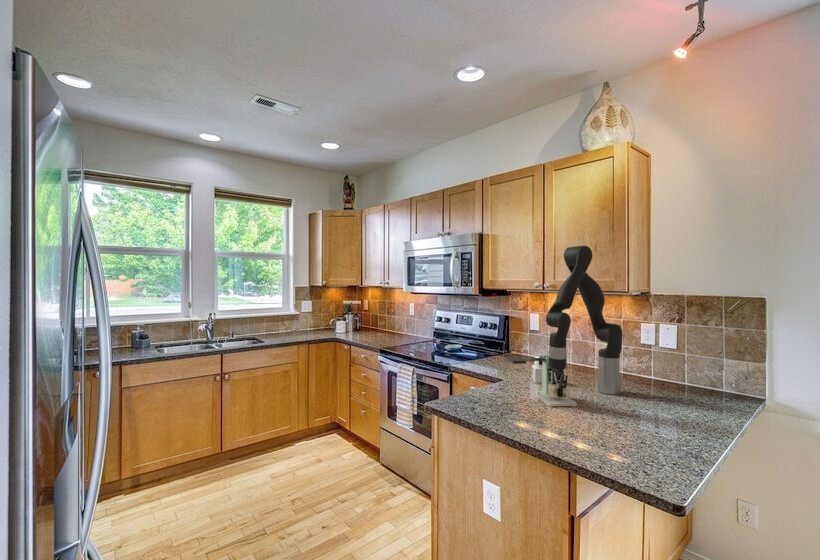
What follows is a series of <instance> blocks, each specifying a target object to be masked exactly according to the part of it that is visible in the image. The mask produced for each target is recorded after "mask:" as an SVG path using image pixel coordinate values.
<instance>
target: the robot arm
mask: <svg viewBox="0 0 820 560" xmlns="http://www.w3.org/2000/svg"><path fill="white" fill-rule="evenodd" d="M563 259H564V262H565V266H567V268H568V270H569V272H570V275H569V276H568V277H567V278H566V279H565V280H564V282H563V283H562V284H561V286H559V288H558V292H557V295H556V299H555V301H554V302H553V303H552V305H551V306H550V308H549V310H548V311H547V313H546V316H545V322H546V324H547V325H548V327H550V328H551V327H552V328H556V329H557V331H555V332H552V333H550V334H549V342H548V344H549V346H548V347H549V348H548V356H549V367H551V368H548V376H549V382H551V384H557V387H558V391H557V396H558V397H563V388H566V389H567V386H568V385H567V384H568V378H569V377H568V375H565V371H564V370H565V369H566V368H567V367H568V365H567V364H568V363H567V361H568V359H567V358H568V356H567V355H568V353H567V337H568V334H569V331H570V330H569V329H570V327H571V324H572V319H571V316H570V315H569V313H567V312H564V310H570V308H571V307H572V305H573V303H574V300H575V296H576V294H577V291H579V294H580V296H581V299H582V302H583V304H584V305H585V308H586V310H587V313H588V316H589V319H590V322H591V326H592V329H593V333H594V335H595V337H596V339H597V340H598V341H601V342H606V344H607V345H606V347H605V348H600V349H598V355H597V356H598V357H597V358H598V360H597V361H598V363H597V364H598V365H597V369H598V371H597V391H598V392H600V393H601V394H605V395H618V394H622V373H621V372H620V369H621V367H620V366H621V365H620V363H621V362H620V361H621V352H622V348H623V334H624V333H623V328H622V326H620V325H619V324H616V323H611V322H607V321H606V319H605V318H604V315H603V310H604V306H605V301H606V299H605V295H604V292H603V289H602V288H601V286H600V285H599V283H598V282H597V281H596V280H595V279H594V278H592V276H591V275H590V274H588V272H587V270H588V269H589V267H590V265H591V263H592V261H593V260H592V259H593V251H592V248H591V247H589V246H587V245H577V246H569V247H567V248H565V250H564V252H563ZM559 384H560V386H559Z"/></svg>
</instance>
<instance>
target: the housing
mask: <svg viewBox="0 0 820 560" xmlns="http://www.w3.org/2000/svg"><path fill="white" fill-rule="evenodd" d="M559 386H560V383H559ZM557 391H558V387H557V384H548V395H550V396H551V397H553V398H565V397H566V396H567V387H566V388H563V397H558V396H557Z"/></svg>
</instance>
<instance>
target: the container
mask: <svg viewBox="0 0 820 560" xmlns="http://www.w3.org/2000/svg"><path fill="white" fill-rule="evenodd" d="M543 356H544V355H540V356H539V355H537V356H535V357H534V358H543ZM542 362H543V361H534V364H532V366H531V380H532V381H533V382H534V383H535V384H542Z"/></svg>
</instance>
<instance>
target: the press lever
mask: <svg viewBox="0 0 820 560" xmlns="http://www.w3.org/2000/svg"><path fill="white" fill-rule="evenodd" d="M544 356H545V357H544V358H535V357H521V356H519V355H506V356H505V359H506V360H507V362H508V361H509V362H510V363H512V364H514V365H515V364H516V365H517V364H519V365H520V364H521V365H522V364H527V362H535V361H547V358H549V357H548V356H549V355H544Z"/></svg>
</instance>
